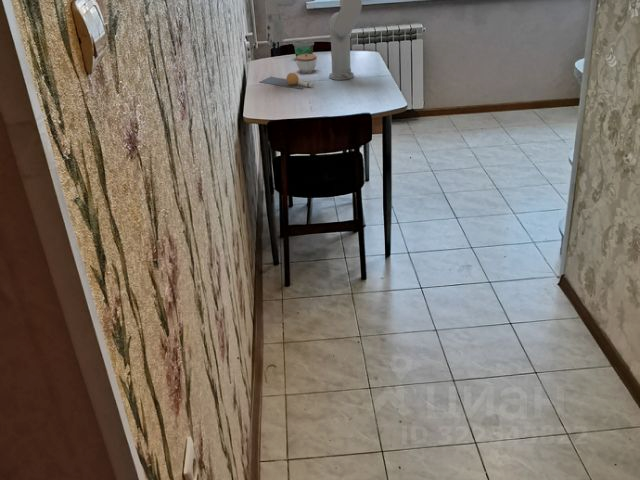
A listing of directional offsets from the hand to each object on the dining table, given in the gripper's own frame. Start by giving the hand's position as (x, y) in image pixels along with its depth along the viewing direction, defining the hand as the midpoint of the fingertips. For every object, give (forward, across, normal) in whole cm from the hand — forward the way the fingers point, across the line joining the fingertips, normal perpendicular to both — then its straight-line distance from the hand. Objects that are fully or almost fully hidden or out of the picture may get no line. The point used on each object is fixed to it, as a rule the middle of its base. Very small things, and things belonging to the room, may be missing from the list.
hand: (276, 55), depth 330 cm
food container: (+14, +39, +13) cm, 44 cm away
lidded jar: (+14, +22, -2) cm, 26 cm away
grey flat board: (+13, 0, -4) cm, 14 cm away
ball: (+10, -1, -10) cm, 14 cm away
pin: (+12, 0, -12) cm, 17 cm away
